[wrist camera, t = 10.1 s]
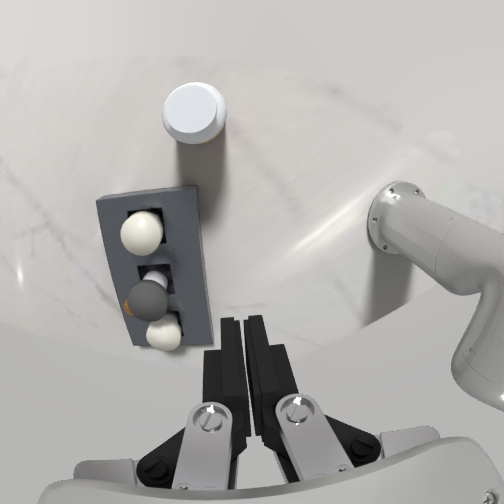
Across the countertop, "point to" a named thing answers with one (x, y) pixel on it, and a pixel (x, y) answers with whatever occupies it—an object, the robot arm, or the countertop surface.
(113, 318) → the countertop surface
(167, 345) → the knob
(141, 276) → the panel
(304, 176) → the countertop surface
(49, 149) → the countertop surface
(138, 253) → the knob
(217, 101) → the supplement bottle
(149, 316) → the knob middle
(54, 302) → the countertop surface
